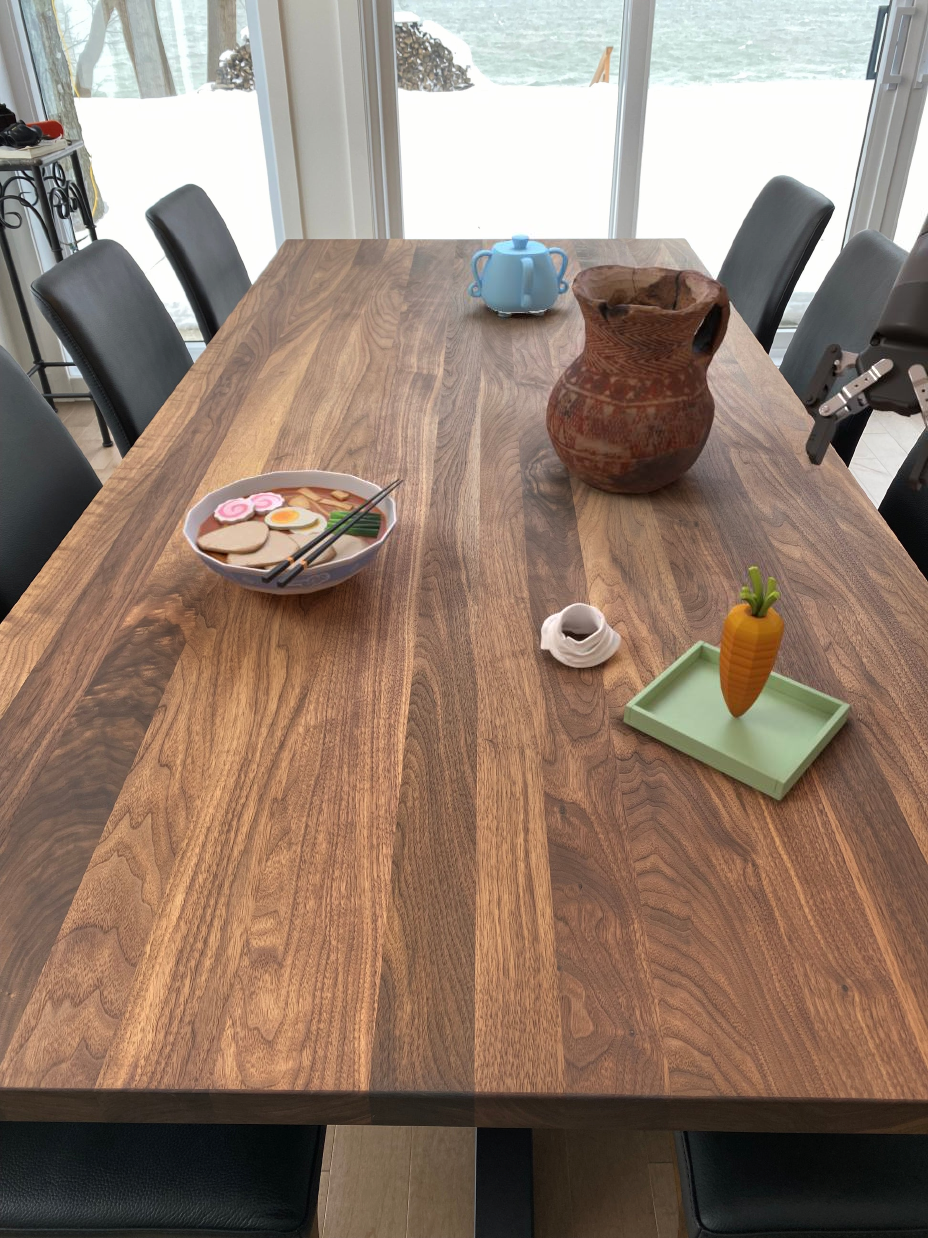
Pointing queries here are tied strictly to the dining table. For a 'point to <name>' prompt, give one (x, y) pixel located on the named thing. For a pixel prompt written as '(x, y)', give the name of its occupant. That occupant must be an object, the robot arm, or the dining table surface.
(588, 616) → the white cowl scarf
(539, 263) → the decorative pot
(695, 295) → the jug
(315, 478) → the ramen bowl
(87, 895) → the dining table surface
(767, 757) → the green tray
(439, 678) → the dining table surface
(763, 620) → the carrot
